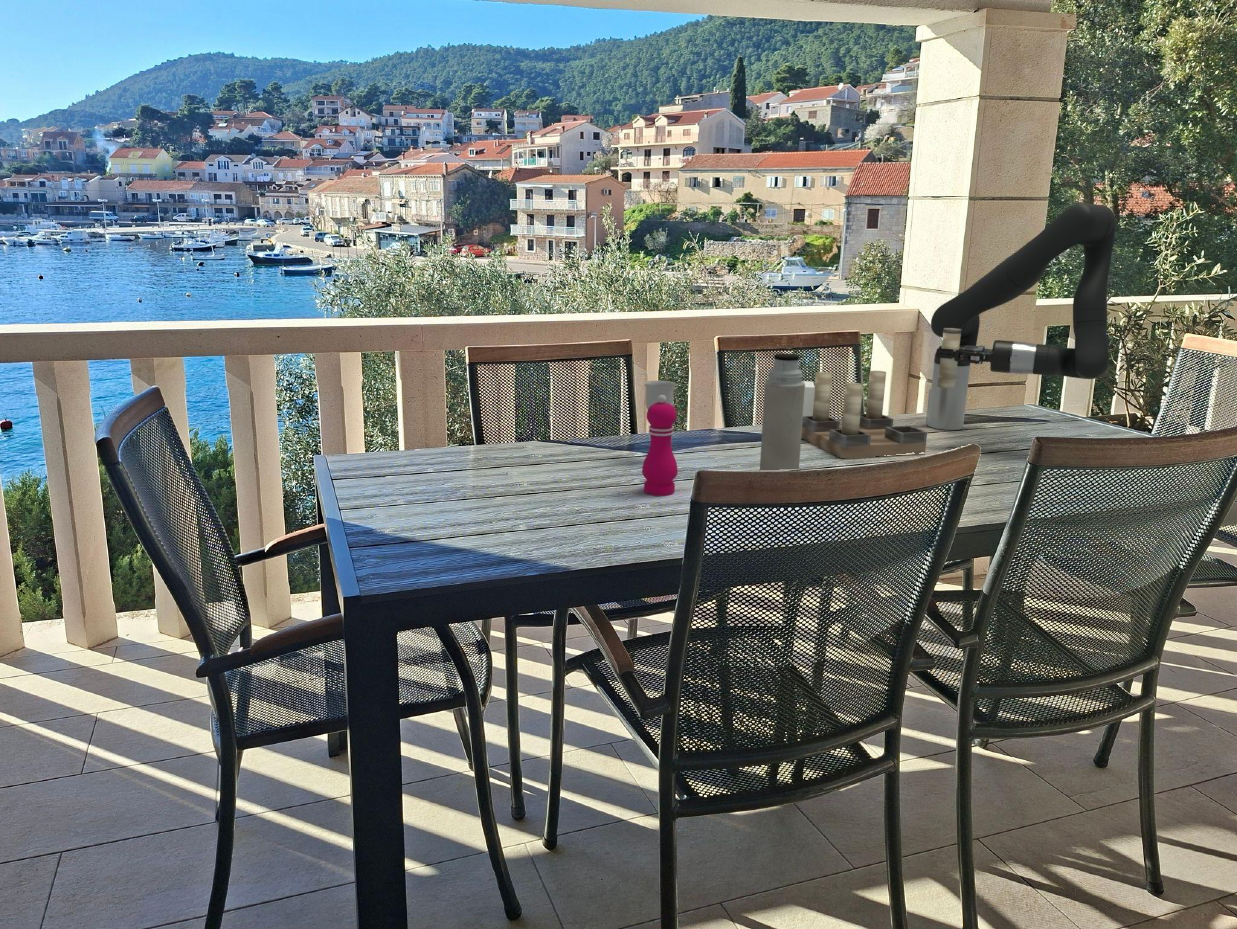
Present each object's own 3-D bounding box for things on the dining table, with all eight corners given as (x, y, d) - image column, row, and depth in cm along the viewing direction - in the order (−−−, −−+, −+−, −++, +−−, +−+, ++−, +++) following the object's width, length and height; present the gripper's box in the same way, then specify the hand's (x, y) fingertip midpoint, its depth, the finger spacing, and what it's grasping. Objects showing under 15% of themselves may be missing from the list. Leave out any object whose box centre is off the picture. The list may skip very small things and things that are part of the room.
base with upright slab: (787, 424, 257) (790, 380, 254) (821, 426, 256) (824, 382, 253) (788, 431, 248) (791, 386, 245) (823, 433, 247) (826, 388, 244)
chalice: (677, 459, 218) (680, 382, 214) (666, 466, 212) (669, 387, 208) (648, 455, 221) (650, 379, 217) (636, 462, 215) (638, 384, 211)
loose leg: (933, 385, 232) (940, 328, 229) (948, 384, 234) (954, 327, 230) (943, 388, 229) (950, 330, 225) (958, 388, 230) (965, 330, 226)
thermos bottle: (768, 480, 203) (776, 350, 195) (803, 487, 199) (813, 353, 191) (752, 489, 196) (760, 354, 189) (788, 496, 192) (797, 358, 185)
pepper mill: (663, 498, 189) (666, 399, 183) (634, 491, 193) (636, 395, 188) (683, 490, 194) (687, 394, 189) (654, 484, 198) (657, 390, 193)
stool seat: (800, 437, 242) (804, 371, 238) (877, 433, 248) (883, 369, 243) (842, 459, 222) (848, 387, 217) (924, 454, 227) (932, 384, 223)
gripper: (1017, 337, 228) (942, 332, 235) (1014, 345, 216) (935, 339, 223) (1012, 368, 230) (939, 362, 237) (1009, 377, 218) (932, 371, 225)
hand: (937, 351), depth 230 cm, fingers closed on loose leg, 4 cm apart
